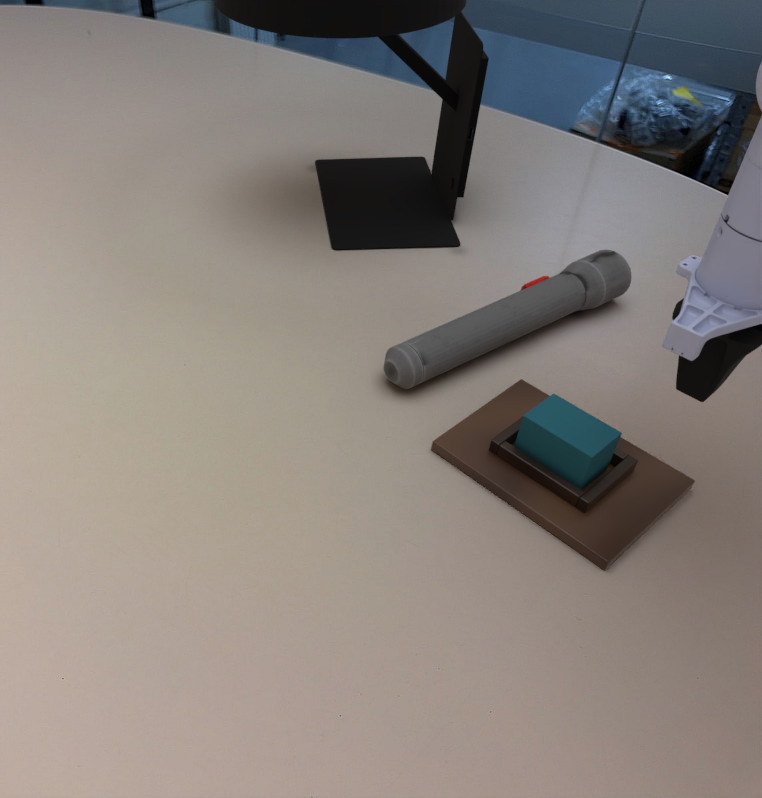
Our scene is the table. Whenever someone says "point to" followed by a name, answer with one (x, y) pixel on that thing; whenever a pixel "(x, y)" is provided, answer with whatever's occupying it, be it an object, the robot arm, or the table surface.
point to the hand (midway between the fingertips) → (693, 391)
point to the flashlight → (509, 318)
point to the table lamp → (392, 176)
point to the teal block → (567, 440)
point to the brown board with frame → (563, 480)
